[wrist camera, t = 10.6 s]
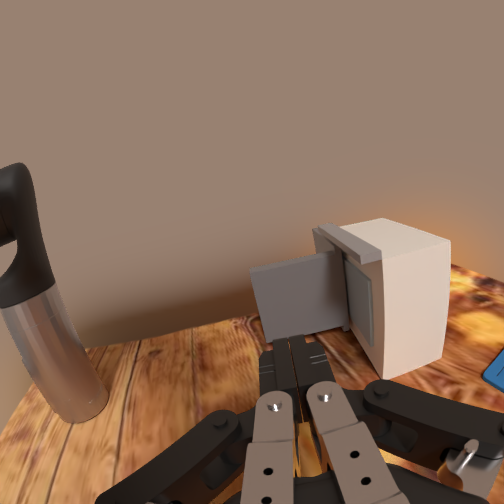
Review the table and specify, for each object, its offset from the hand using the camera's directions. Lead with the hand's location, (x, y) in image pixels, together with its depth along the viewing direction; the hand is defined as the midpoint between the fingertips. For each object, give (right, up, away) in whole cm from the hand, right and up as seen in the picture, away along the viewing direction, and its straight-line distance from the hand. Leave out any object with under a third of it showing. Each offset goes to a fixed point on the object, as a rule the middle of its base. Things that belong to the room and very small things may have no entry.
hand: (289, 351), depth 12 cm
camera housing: (+15, -6, +21) cm, 26 cm away
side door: (+6, -5, +29) cm, 30 cm away
